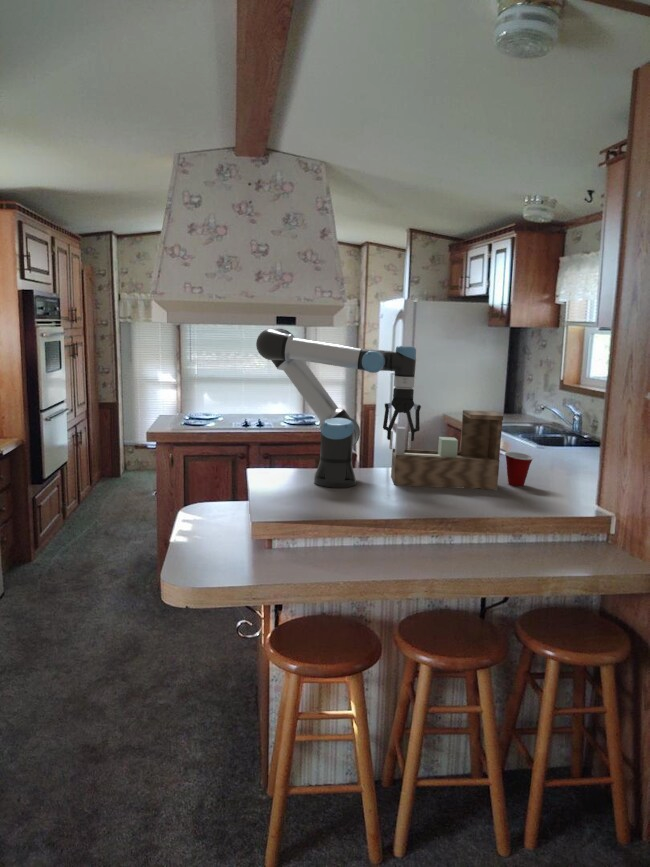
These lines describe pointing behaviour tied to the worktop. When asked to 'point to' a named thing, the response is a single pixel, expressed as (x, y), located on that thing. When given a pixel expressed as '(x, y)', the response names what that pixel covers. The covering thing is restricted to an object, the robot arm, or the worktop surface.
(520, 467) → the plastic cup
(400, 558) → the worktop surface
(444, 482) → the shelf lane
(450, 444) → the tethered block
